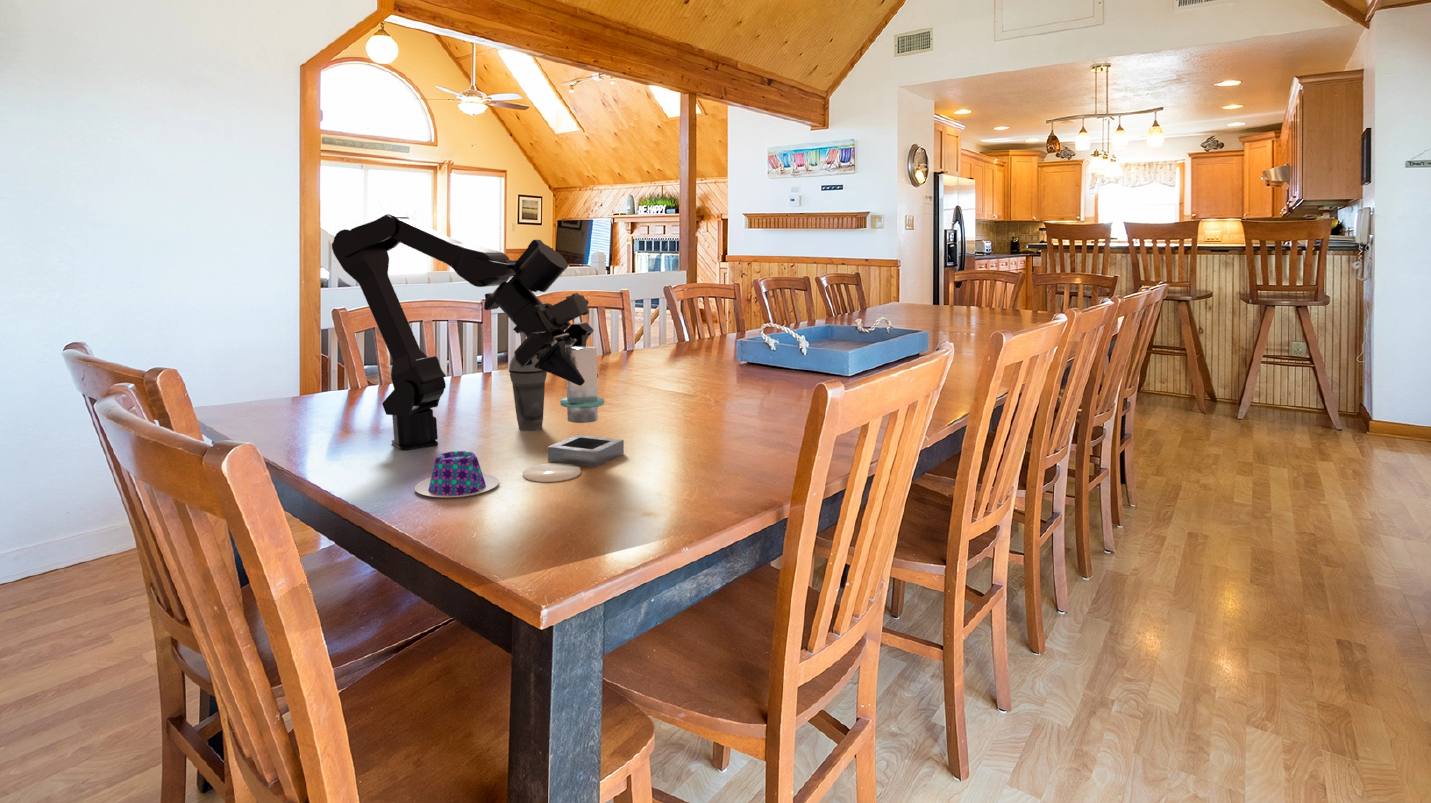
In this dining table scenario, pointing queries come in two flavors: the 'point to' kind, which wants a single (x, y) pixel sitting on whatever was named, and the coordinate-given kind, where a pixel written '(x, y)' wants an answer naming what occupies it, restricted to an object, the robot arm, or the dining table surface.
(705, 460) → the dining table surface
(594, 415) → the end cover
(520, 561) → the dining table surface
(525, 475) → the coaster
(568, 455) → the box
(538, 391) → the beverage cup
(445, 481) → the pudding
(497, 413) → the dining table surface
